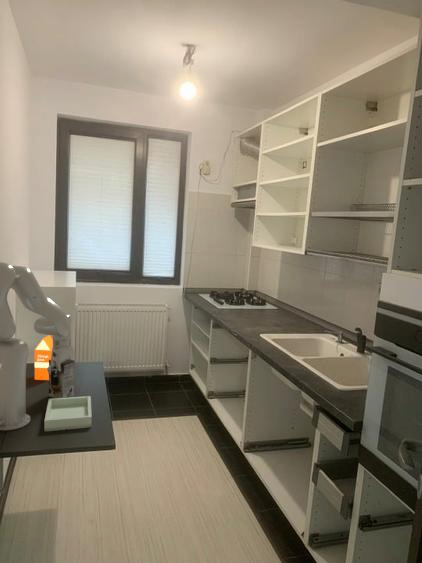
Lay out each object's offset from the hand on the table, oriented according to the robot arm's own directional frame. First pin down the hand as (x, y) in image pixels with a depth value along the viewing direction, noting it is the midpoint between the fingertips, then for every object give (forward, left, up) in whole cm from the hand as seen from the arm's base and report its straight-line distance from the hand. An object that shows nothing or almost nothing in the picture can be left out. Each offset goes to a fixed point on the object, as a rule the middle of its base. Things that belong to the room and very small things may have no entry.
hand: (62, 381), depth 175 cm
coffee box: (0, 0, -7) cm, 7 cm away
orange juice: (+17, +22, -7) cm, 28 cm away
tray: (-16, -16, -7) cm, 24 cm away
